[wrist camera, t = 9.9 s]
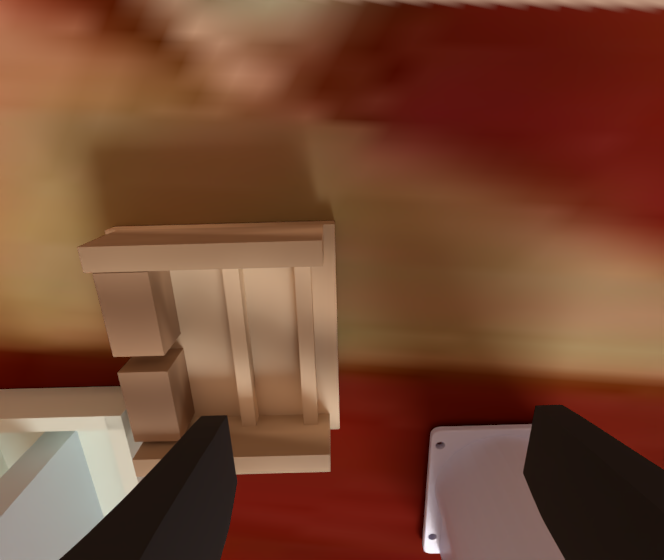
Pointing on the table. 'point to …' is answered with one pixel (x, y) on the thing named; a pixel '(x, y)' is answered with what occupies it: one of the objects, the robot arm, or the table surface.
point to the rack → (247, 331)
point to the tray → (74, 415)
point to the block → (47, 500)
